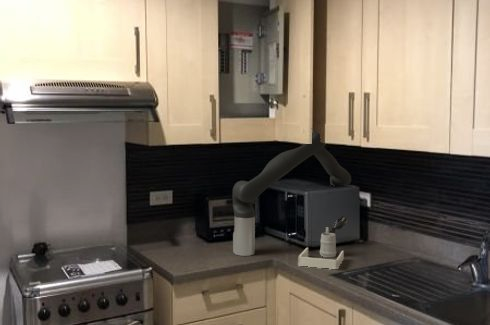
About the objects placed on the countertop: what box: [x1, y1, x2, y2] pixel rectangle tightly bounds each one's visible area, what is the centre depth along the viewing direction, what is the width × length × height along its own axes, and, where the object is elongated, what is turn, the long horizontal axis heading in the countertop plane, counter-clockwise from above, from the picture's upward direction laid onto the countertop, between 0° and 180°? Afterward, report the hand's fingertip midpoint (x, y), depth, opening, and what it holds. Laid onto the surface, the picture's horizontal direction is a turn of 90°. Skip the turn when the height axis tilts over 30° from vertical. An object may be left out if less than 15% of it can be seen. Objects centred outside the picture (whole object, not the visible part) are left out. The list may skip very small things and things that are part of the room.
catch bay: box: [297, 247, 345, 270], centre depth 232 cm, size 17×17×4 cm
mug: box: [319, 226, 338, 258], centre depth 245 cm, size 8×12×12 cm, turn 177°
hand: (331, 235), depth 254 cm, fingers closed
